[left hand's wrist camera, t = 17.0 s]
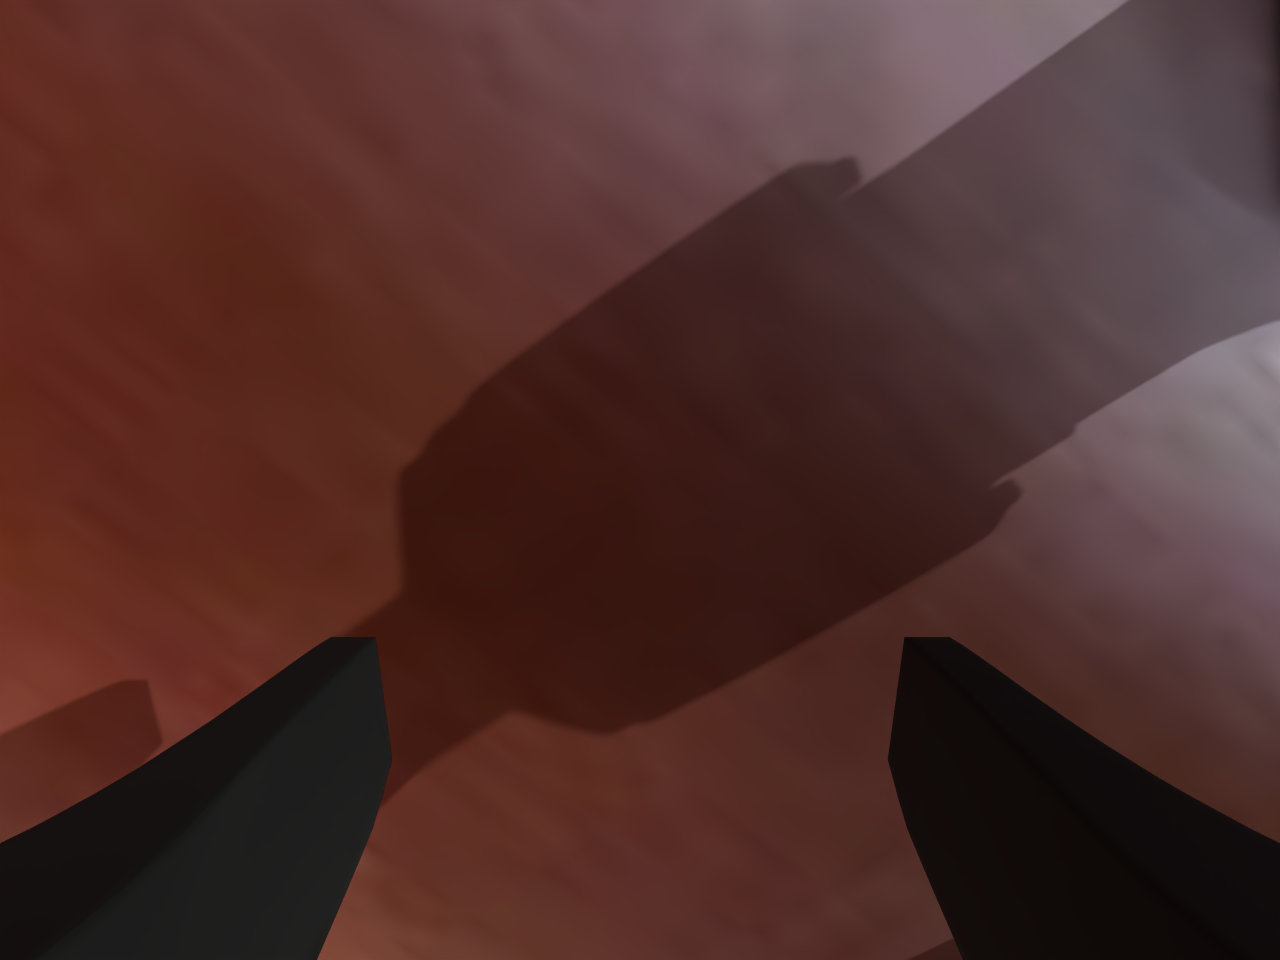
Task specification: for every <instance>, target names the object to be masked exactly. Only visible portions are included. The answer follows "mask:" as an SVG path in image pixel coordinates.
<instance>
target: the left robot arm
mask: <svg viewBox="0 0 1280 960" xmlns="http://www.w3.org/2000/svg"><path fill="white" fill-rule="evenodd" d="M391 762H392V755H391V747H390V740H389V733H388V725H387V718H386V711H385V703H384V696H383V689H382V681H381V674H380V667H379V659H378V652H377V645H376V637H331V638H329V639H327V640H326V641H324V642H322V643H321V644H319V645H318V646H316V647H315V648H313V649H312V650H310V651H309V652H307V653H306V654H304V655H303V656H301V657H300V658H299V659H297V660H296V661H294V662H293V663H292V664H290V665H289V666H287V667H286V668H285V669H283V670H282V671H280V672H279V673H278V674H276V675H275V676H274V677H272V678H271V679H269V680H268V681H267V682H265V683H264V684H262V685H261V686H260V687H258V688H257V689H255V690H254V691H252V692H251V693H250V694H248V695H247V696H245V697H244V698H243V699H241V700H240V701H238V702H237V703H236V704H234V705H233V706H231V707H230V708H228V709H227V710H226V711H224V712H223V713H221V714H220V715H219V716H217V717H216V718H214V719H213V720H211V721H210V722H208V723H207V724H205V725H204V726H202V727H201V728H199V729H198V730H196V731H194V732H193V733H191V734H190V735H188V736H187V737H185V738H184V739H182V740H181V741H179V742H178V743H176V744H175V745H173V746H171V747H170V748H168V749H167V750H165V751H164V752H162V753H161V754H159V755H158V756H156V757H155V758H153V759H151V760H150V761H148V762H147V763H145V764H144V765H142V766H141V767H139V768H137V769H136V770H134V771H133V772H131V773H129V774H128V775H126V776H124V777H123V778H121V779H119V780H118V781H116V782H114V783H112V784H111V785H109V786H107V787H106V788H104V789H102V790H100V791H99V792H97V793H95V794H93V795H92V796H90V797H88V798H86V799H84V800H82V801H81V802H79V803H77V804H75V805H73V806H72V807H70V808H68V809H66V810H64V811H62V812H61V813H59V814H57V815H55V816H53V817H52V818H50V819H48V820H46V821H44V822H42V823H40V824H38V825H36V826H34V827H32V828H31V829H29V830H27V831H25V832H23V833H20V834H18V835H16V836H14V837H12V838H10V839H8V840H6V841H4V842H2V843H0V960H317V958H318V956H319V954H320V951H321V949H322V947H323V944H324V942H325V940H326V937H327V935H328V933H329V930H330V928H331V926H332V923H333V921H334V919H335V917H336V914H337V912H338V910H339V907H340V905H341V903H342V900H343V898H344V896H345V893H346V891H347V889H348V886H349V884H350V882H351V879H352V877H353V875H354V872H355V870H356V867H357V865H358V863H359V860H360V858H361V856H362V853H363V851H364V848H365V846H366V844H367V841H368V839H369V836H370V834H371V831H372V829H373V826H374V822H375V819H376V816H377V812H378V809H379V806H380V802H381V799H382V795H383V792H384V788H385V784H386V780H387V777H388V773H389V769H390V765H391ZM888 762H889V765H890V769H891V773H892V777H893V780H894V784H895V788H896V792H897V795H898V799H899V802H900V806H901V809H902V812H903V816H904V819H905V822H906V826H907V829H908V831H909V834H910V836H911V839H912V841H913V844H914V846H915V848H916V851H917V853H918V856H919V858H920V860H921V863H922V865H923V867H924V870H925V872H926V875H927V877H928V879H929V882H930V884H931V886H932V889H933V891H934V893H935V896H936V898H937V900H938V903H939V905H940V907H941V910H942V912H943V914H944V916H945V919H946V921H947V923H948V926H949V928H950V930H951V933H952V935H953V937H954V940H955V942H956V944H957V947H958V949H959V951H960V954H961V956H962V958H963V960H1280V843H1278V842H1276V841H1274V840H1272V839H1270V838H1268V837H1266V836H1264V835H1262V834H1260V833H1258V832H1256V831H1254V830H1252V829H1250V828H1248V827H1246V826H1244V825H1243V824H1241V823H1239V822H1237V821H1235V820H1233V819H1232V818H1230V817H1228V816H1226V815H1224V814H1222V813H1220V812H1219V811H1217V810H1215V809H1213V808H1211V807H1209V806H1208V805H1206V804H1204V803H1202V802H1200V801H1198V800H1197V799H1195V798H1193V797H1191V796H1189V795H1187V794H1185V793H1184V792H1182V791H1180V790H1179V789H1177V788H1175V787H1173V786H1172V785H1170V784H1168V783H1167V782H1165V781H1163V780H1161V779H1160V778H1158V777H1156V776H1155V775H1153V774H1151V773H1150V772H1148V771H1147V770H1145V769H1143V768H1142V767H1140V766H1139V765H1137V764H1135V763H1134V762H1132V761H1131V760H1129V759H1128V758H1126V757H1124V756H1123V755H1121V754H1120V753H1118V752H1116V751H1115V750H1113V749H1112V748H1110V747H1108V746H1107V745H1105V744H1104V743H1102V742H1101V741H1099V740H1098V739H1096V738H1095V737H1093V736H1092V735H1090V734H1089V733H1087V732H1086V731H1084V730H1083V729H1081V728H1080V727H1078V726H1077V725H1075V724H1074V723H1072V722H1071V721H1069V720H1068V719H1066V718H1065V717H1063V716H1062V715H1061V714H1059V713H1058V712H1056V711H1055V710H1053V709H1052V708H1051V707H1049V706H1048V705H1046V704H1045V703H1043V702H1042V701H1041V700H1039V699H1038V698H1036V697H1035V696H1034V695H1032V694H1031V693H1029V692H1028V691H1027V690H1025V689H1024V688H1022V687H1021V686H1020V685H1018V684H1017V683H1015V682H1014V681H1013V680H1011V679H1010V678H1008V677H1007V676H1006V675H1004V674H1003V673H1001V672H1000V671H999V670H997V669H996V668H994V667H993V666H992V665H990V664H989V663H987V662H986V661H985V660H983V659H982V658H980V657H979V656H978V655H976V654H975V653H973V652H972V651H970V650H969V649H967V648H966V647H964V646H963V645H961V644H960V643H958V642H957V641H955V640H953V639H952V638H950V637H904V645H903V652H902V659H901V667H900V674H899V681H898V689H897V696H896V703H895V711H894V718H893V725H892V733H891V740H890V747H889V755H888Z"/></svg>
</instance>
